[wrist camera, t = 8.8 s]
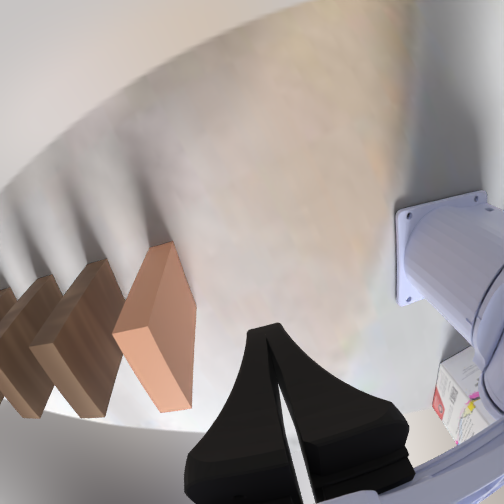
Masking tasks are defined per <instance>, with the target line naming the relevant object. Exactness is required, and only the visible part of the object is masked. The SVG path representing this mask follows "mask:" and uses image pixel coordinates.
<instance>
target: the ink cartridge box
mask: <svg viewBox="0 0 504 504" xmlns="http://www.w3.org/2000/svg"><path fill="white" fill-rule="evenodd" d="M474 354H475V349H474V348H473V347H472V346H470V347H468V348H466V349H465V350H463V351H461V352H460V353H458V354H456V355H454V356H453V357H451V358H449V359H447V360H445V361H444V362H442V363H441V364H440V368H439V373H438V379H437V385H436V390H435V395H434V400H433V406H432V407H433V408H434V410H435V411H436V413H437V414H438V416H439V417H440V419H441V420H442V422H443V424H444V425H445V427H446V428H447V430H448V431H449V433H450V434H451V436H452V438H453V439H454V441H455V442H456V444H457V445H459V444H461V443H462V442H464V441H466V440H467V439H469V438H471V437H472V436H474V435H476V434H477V433H479V432H480V431H482V430H483V429H485V428H487V427H488V426H490V425H491V424H492V423H494V422H495V421H496V420H495V419H494V418H493V417H492V416H491V415H490V414H489V413H488V411H487V410H486V409H485V407H484V405H483V403H482V401H481V399H480V396H479V392H478V381H479V377H480V374H481V372H482V371H481V370H480V369H479V368H478V367H477V366H476V365H475V363H474V362H473V361H472V360H473V357H474Z"/></svg>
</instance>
